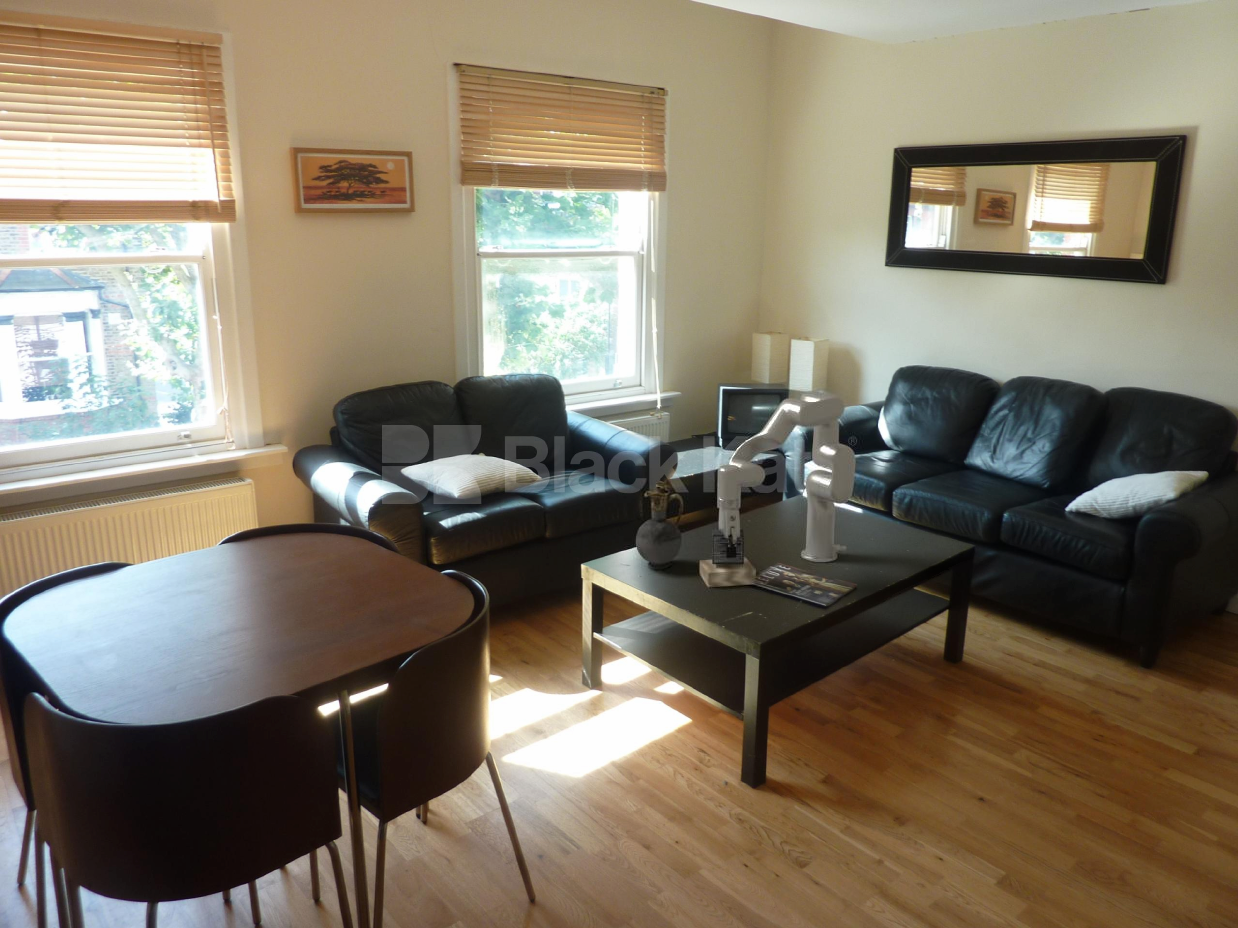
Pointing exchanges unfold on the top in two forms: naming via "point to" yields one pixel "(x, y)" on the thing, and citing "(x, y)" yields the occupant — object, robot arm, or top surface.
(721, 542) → the small box
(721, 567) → the birch riser
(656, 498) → the pitcher
